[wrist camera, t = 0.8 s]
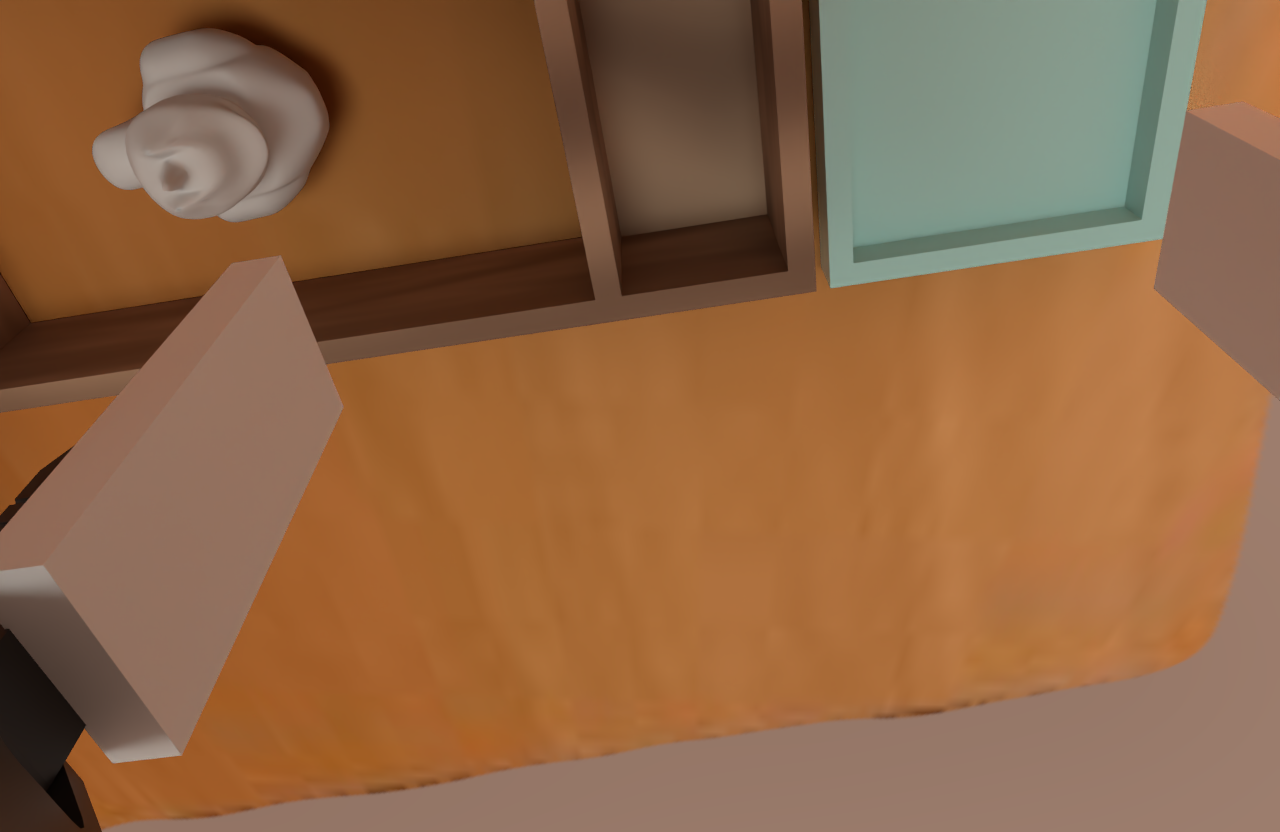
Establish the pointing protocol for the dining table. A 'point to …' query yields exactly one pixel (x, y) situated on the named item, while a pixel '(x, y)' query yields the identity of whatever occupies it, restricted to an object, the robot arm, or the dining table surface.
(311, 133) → the rubber duck
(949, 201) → the tray
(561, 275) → the organizer
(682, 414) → the dining table surface
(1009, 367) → the dining table surface
